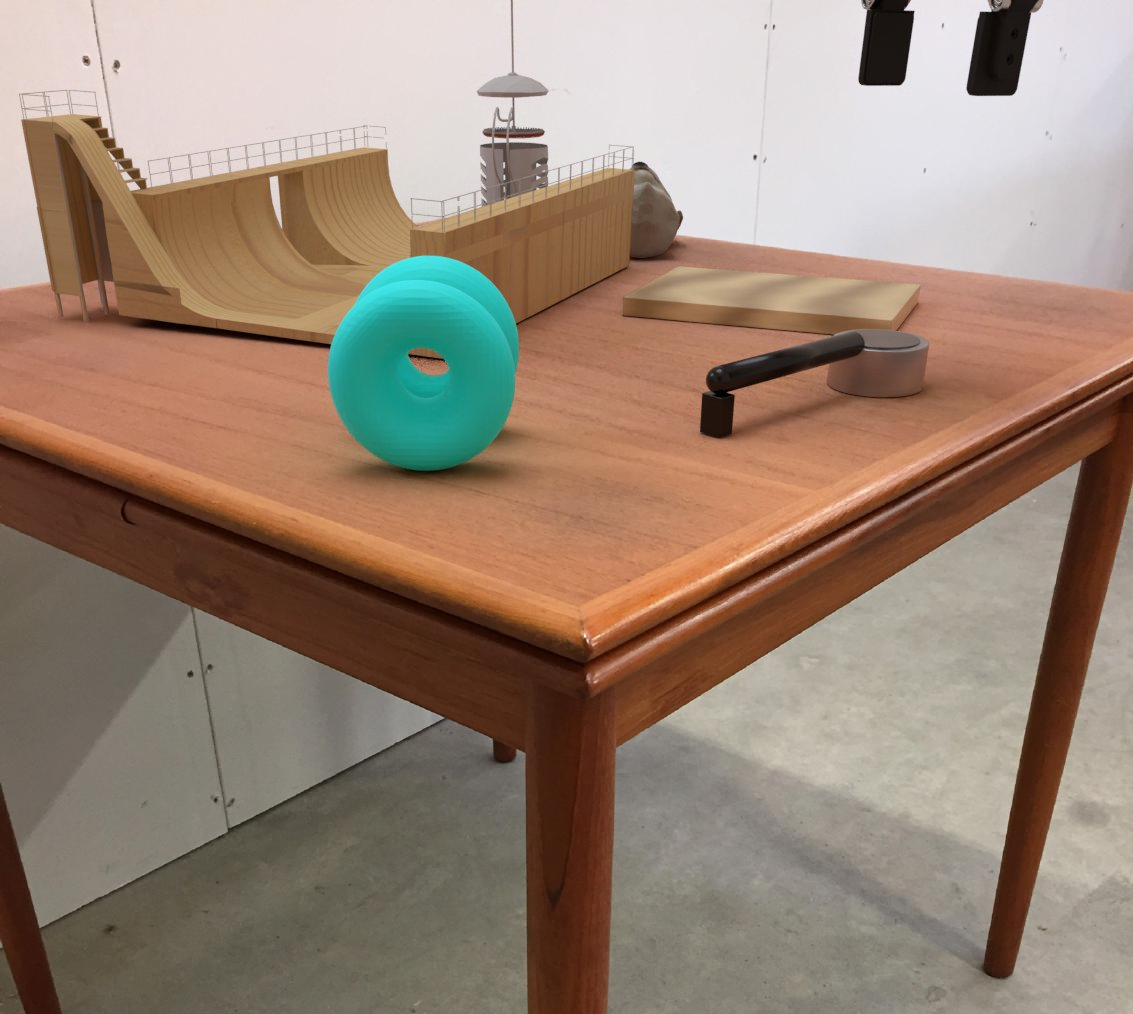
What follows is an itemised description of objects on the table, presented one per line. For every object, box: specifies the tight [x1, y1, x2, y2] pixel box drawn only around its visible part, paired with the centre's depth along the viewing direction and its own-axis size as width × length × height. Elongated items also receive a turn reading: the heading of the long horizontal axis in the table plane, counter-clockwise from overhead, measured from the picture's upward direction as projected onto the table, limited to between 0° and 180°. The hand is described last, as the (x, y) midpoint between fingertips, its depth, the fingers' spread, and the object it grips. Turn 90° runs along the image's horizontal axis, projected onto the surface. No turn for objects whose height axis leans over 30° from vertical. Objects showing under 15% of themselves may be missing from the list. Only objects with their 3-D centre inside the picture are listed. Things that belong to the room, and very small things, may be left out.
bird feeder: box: [476, 0, 550, 207], centre depth 137 cm, size 10×12×25 cm
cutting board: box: [622, 265, 922, 336], centre depth 104 cm, size 22×15×2 cm
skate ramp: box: [18, 89, 635, 360], centre depth 106 cm, size 40×35×16 cm
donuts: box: [327, 256, 520, 472], centre depth 69 cm, size 10×10×10 cm
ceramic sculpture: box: [628, 161, 684, 259], centre depth 126 cm, size 11×9×15 cm
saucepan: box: [699, 329, 930, 439], centre depth 79 cm, size 20×6×4 cm, turn 133°
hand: (933, 89), depth 72 cm, fingers open, 9 cm apart
